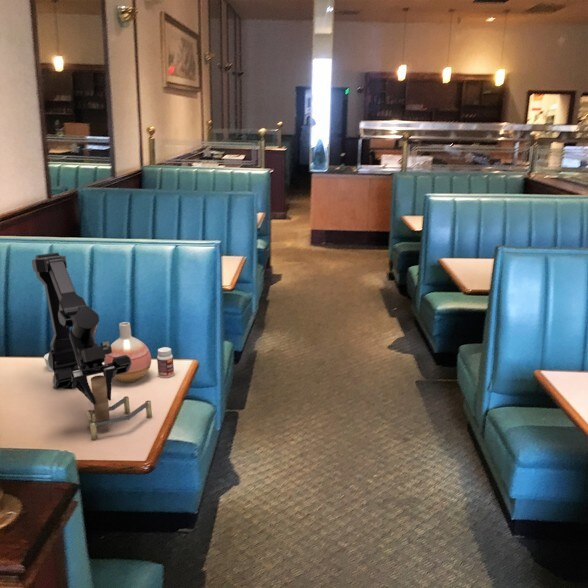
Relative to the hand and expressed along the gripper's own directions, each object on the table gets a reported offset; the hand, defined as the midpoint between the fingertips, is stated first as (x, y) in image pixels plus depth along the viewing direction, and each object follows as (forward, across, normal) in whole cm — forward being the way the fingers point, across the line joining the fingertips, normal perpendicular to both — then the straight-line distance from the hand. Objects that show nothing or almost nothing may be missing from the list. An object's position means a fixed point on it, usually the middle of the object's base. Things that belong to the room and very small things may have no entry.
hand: (102, 402), depth 155 cm
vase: (-14, +16, +27) cm, 34 cm away
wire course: (+5, +4, +7) cm, 9 cm away
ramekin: (-29, +1, +42) cm, 51 cm away
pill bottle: (-12, +27, +24) cm, 38 cm away
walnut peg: (+4, 0, +6) cm, 7 cm away
